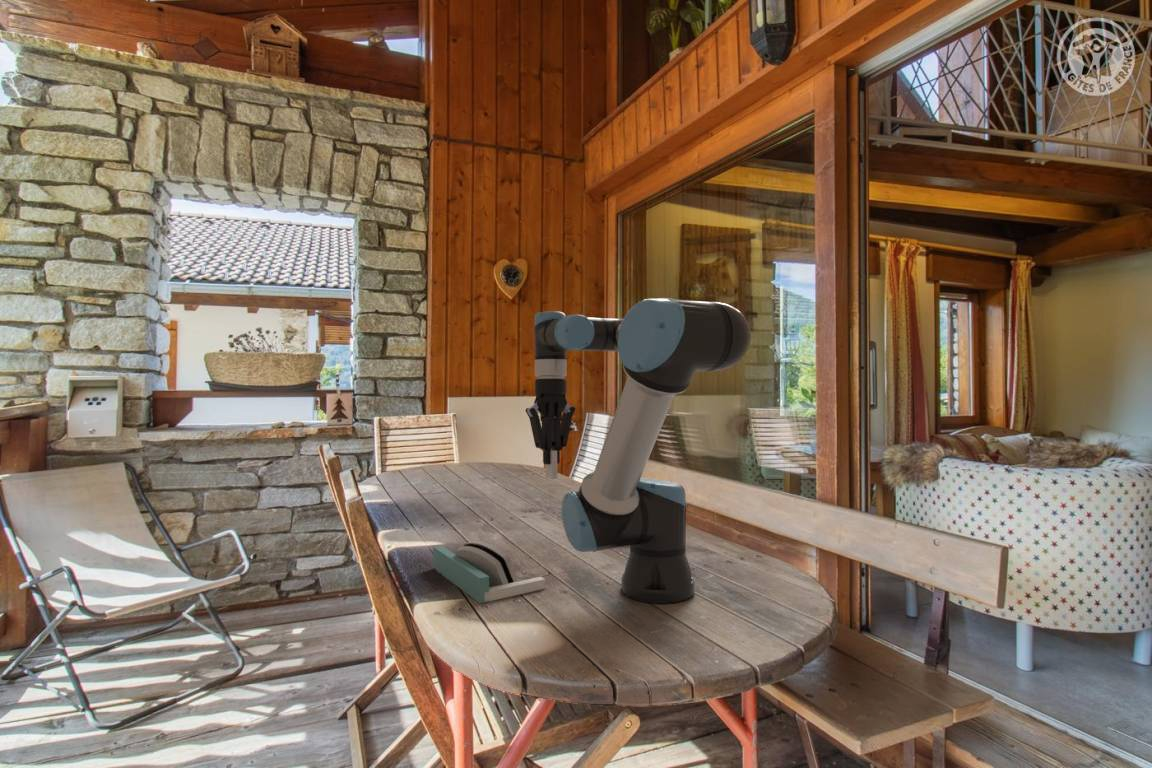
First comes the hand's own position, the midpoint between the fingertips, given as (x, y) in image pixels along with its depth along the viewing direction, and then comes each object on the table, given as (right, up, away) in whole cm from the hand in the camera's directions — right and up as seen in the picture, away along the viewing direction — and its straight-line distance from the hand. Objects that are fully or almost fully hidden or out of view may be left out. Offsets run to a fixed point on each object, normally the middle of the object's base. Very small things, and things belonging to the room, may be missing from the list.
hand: (551, 477), depth 141 cm
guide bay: (-14, -21, -8) cm, 26 cm away
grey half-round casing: (-14, -22, -11) cm, 28 cm away
